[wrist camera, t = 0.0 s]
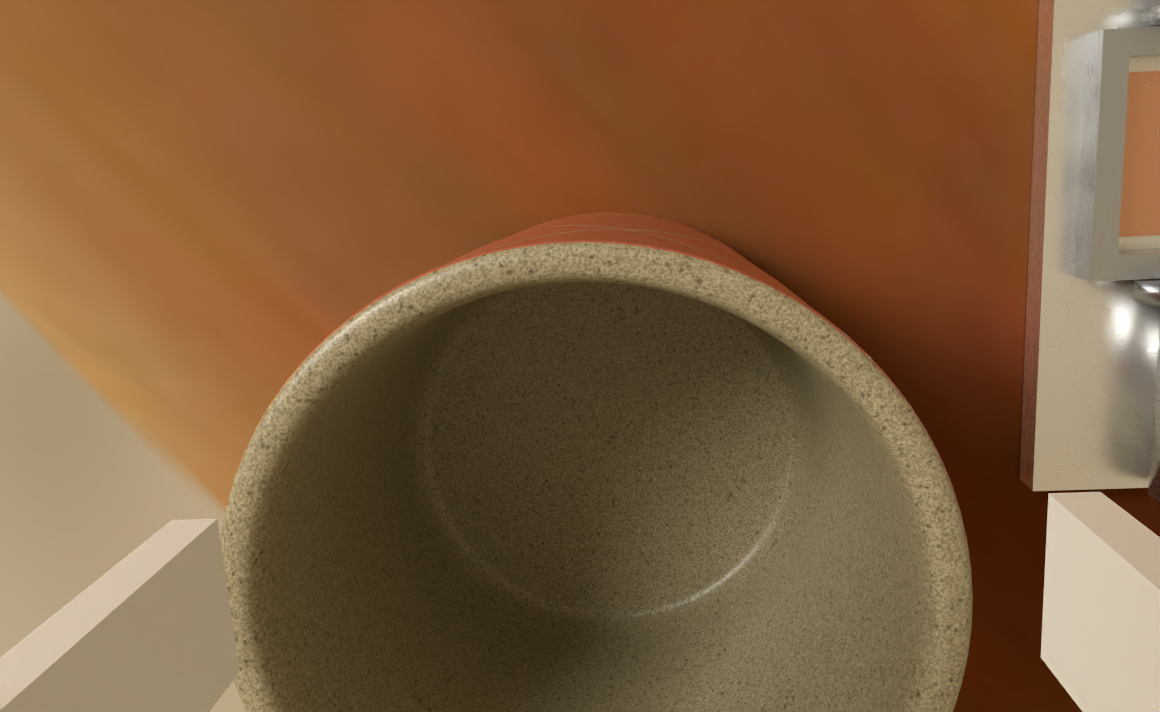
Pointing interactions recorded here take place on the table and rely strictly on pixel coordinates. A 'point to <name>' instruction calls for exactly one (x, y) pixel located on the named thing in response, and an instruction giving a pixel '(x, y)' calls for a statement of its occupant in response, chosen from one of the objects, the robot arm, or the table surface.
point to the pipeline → (1094, 251)
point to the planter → (595, 498)
